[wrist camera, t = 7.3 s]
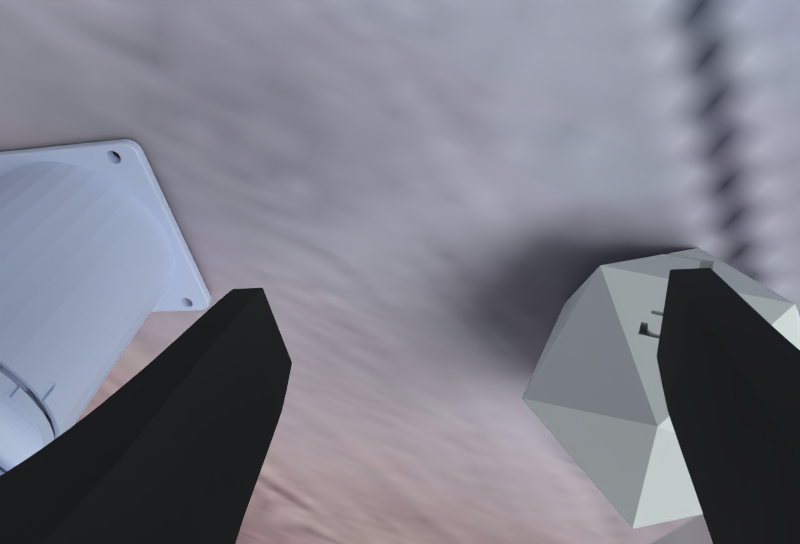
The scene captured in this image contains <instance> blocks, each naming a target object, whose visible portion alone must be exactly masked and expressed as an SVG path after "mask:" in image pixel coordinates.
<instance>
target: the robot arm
mask: <svg viewBox="0 0 800 544" xmlns="http://www.w3.org/2000/svg"><path fill="white" fill-rule="evenodd" d="M112 151H115V152H116V153H118V154H119V156H120V158H121V159H120V158H118V157H116V156H115V155H114V154H113V152H112ZM186 298H187V299H189V300H191V301H189V300H187V299H186ZM210 303H211V296H210V294H209V292H208V290H207V287H206V285H205V283H204V281H203V279H202V277H201V274H200V272H199V270H198V268H197V266H196V264H195V262H194V259H193V257H192V255H191V253H190V251H189V249H188V247H187V244H186V242H185V240H184V238H183V236H182V234H181V231H180V229H179V227H178V225H177V223H176V221H175V219H174V216H173V214H172V212H171V210H170V208H169V206H168V203H167V201H166V199H165V197H164V195H163V193H162V191H161V188H160V186H159V184H158V182H157V180H156V178H155V176H154V173H153V171H152V169H151V167H150V165H149V163H148V160H147V158H146V156H145V154H144V152H143V150H142V148H141V147H140V146H139V145H138V144H137V143H136V142H134V141H132V140H129V139H120V140H111V141H101V142H92V143H82V144H72V145H63V146H53V147H43V148H34V149H24V150H14V151H5V152H0V544H235V543H236V539H237V536H238V533H239V530H240V527H241V524H242V520H243V517H244V515H245V512H246V509H247V506H248V504H249V501H250V498H251V495H252V493H253V490H254V487H255V484H256V482H257V479H258V476H259V473H260V471H261V468H262V465H263V462H264V460H265V457H266V454H267V451H268V449H269V446H270V443H271V440H272V437H273V435H274V432H275V429H276V426H277V423H278V420H279V417H280V414H281V411H282V407H283V403H284V399H285V394H286V390H287V385H288V380H289V375H290V370H291V365H292V362H291V360H290V357H289V354H288V352H287V349H286V347H285V344H284V342H283V339H282V336H281V334H280V331H279V329H278V326H277V324H276V321H275V319H274V316H273V313H272V311H271V308H270V306H269V303H268V301H267V298H266V295H265V293H264V290H263V288H248V289H233V290H231V291H230V292H229V293H228V294H226V295H225V296H224V297H223V298H222V299H220V300H219V301H218V302H217V303H216V304H215V305H214V306H213V307H211V308H210V309H209V310H208V311H207V312H206V313H205V314H204V315H203V316H201V317H200V318H199V319H198V320H197V321H196V322H195V323H194V324H193V325H192V326H191V327H189V328H188V329H187V330H186V331H185V332H184V333H183V334H182V335H181V336H180V337H178V338H177V339H176V340H175V341H174V342H173V343H172V344H171V345H170V346H169V347H167V348H166V349H165V350H164V351H163V352H162V353H161V354H160V355H159V356H157V357H156V358H155V359H154V360H153V361H152V362H151V363H150V364H149V365H147V366H146V367H145V368H144V369H143V370H142V371H140V372H139V373H138V374H137V375H136V376H134V377H133V378H132V379H131V380H130V381H128V382H127V383H126V384H125V385H124V386H122V387H121V388H120V389H119V390H118V391H116V392H115V393H114V394H113V395H112V396H110V397H109V398H108V399H107V400H106V401H105V402H103V403H102V404H101V405H100V406H98V407H97V408H96V409H95V410H93V411H92V412H91V413H90V414H88V415H87V416H86V417H84V418H83V419H82V420H80V421H79V422H78V423H76V421H77V420H78V418H79V417H80V416H81V414H82V413H83V411H84V410H85V408H86V407H87V405H88V404H89V402H90V401H91V399H92V398H93V396H94V395H95V393H96V392H97V391H98V389H99V388H100V386H101V385H102V383H103V382H104V380H105V379H106V377H107V376H108V374H109V373H110V371H111V370H112V368H113V367H114V366H115V364H116V363H117V361H118V360H119V358H120V357H121V355H122V354H123V352H124V351H125V349H126V348H127V346H128V345H129V343H130V342H131V341H132V339H133V338H134V336H135V335H136V333H137V332H138V330H139V329H140V327H141V326H142V324H143V323H144V321H145V320H146V319H147V317H148V316H149V314H150V313H151V312H164V311H190V310H204V309H206V308H208V306H209V305H210ZM657 362H658V367H659V372H660V377H661V382H662V387H663V392H664V396H665V401H666V405H667V410H668V413H669V416H670V419H671V422H672V425H673V428H674V431H675V434H676V437H677V440H678V443H679V446H680V449H681V452H682V455H683V458H684V460H685V463H686V466H687V469H688V472H689V475H690V478H691V481H692V483H693V486H694V489H695V492H696V495H697V498H698V501H699V504H700V507H701V509H702V512H703V515H704V518H705V521H706V524H707V527H708V530H709V532H710V535H711V539H712V542H713V544H800V350H799V349H798V348H797V347H795V346H794V345H793V344H792V343H791V342H790V341H789V340H787V339H786V338H785V337H784V336H783V335H782V334H781V333H780V332H779V331H777V330H776V329H775V328H774V327H773V326H772V325H771V324H770V323H769V322H768V321H766V320H765V319H764V318H763V317H762V316H761V315H760V314H759V313H758V312H757V311H756V310H755V309H754V308H752V307H751V306H750V305H749V304H748V303H747V302H746V301H745V300H744V299H743V298H742V297H741V296H740V295H739V294H738V293H737V292H736V291H735V290H733V289H732V288H731V287H730V286H729V285H728V284H727V283H726V282H725V281H724V280H723V279H722V278H721V277H720V276H719V275H717V274H716V273H715V272H714V271H713V270H712V269H711V268H694V269H671V270H670V273H669V279H668V285H667V292H666V298H665V305H664V311H663V318H662V324H661V331H660V337H659V344H658V350H657ZM75 423H76V424H75ZM74 424H75V425H74Z"/></svg>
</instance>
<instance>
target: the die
mask: <svg viewBox="0 0 800 544" xmlns="http://www.w3.org/2000/svg"><path fill="white" fill-rule="evenodd" d="M694 268H711V269H712V270H713V271H714V272H715V273H716V274H717V275H719V276H720V277H721V278H722V279H723V280H724V281H725V282H726V283H727V284H728V285H729V286H730V287H731V288H732V289H733V290H735V291H736V292H737V293H738V294H739V295H740V296H741V297H742V298H743V299H744V300H745V301H746V302H747V303H748V304H749V305H750V306H751V307H752V308H754V309H755V310H756V311H757V312H758V313H759V314H760V315H761V316H762V317H763V318H764V319H765V320H766V321H768V322H769V323H770V324H771V325H772V326H773V327H774V328H775V329H776V330H777V331H779V332H780V333H781V334H782V335H783V336H784V337H785V338H786V339H787V340H789V341H790V342H791V343H792V344H793V345H794V346H795V347H797V348H798V349H799V350H800V317H799V314H798V311H797V308H796V305H795V304H794V303H792V302H791V301H789V300H787V299H786V298H784V297H782V296H780V295H779V294H777V293H775V292H774V291H772V290H770V289H768V288H767V287H765V286H763V285H762V284H760V283H758V282H756V281H755V280H753V279H751V278H750V277H748V276H746V275H744V274H743V273H741V272H739V271H737V270H736V269H734V268H732V267H731V266H729V265H727V264H725V263H724V262H722V261H720V260H719V259H717V258H715V257H713V256H712V255H710V254H708V253H707V252H705V251H703V250H701V249H700V248H696V249H690V250H684V251H679V252H673V253H669V254H666V255H665V254H662V255H656V256H651V257H645V258H639V259H634V260H628V261H622V262H617V263H611V264H606V265H600V266H599V267H598V268H597V269H596V270H595V272H594V273H593V274H592V275H591V276H590V277H589V278H588V279H587V280H586V281H585V282H584V283H583V284H582V285H581V286H580V287H579V289H578V290H577V291H576V292H575V293H574V294H573V295H572V296H571V297H570V298H569V299H568V300H567V301H566V302H565V304H564V306H563V308H562V310H561V313H560V315H559V317H558V319H557V321H556V324H555V326H554V328H553V330H552V332H551V335H550V337H549V339H548V341H547V343H546V346H545V348H544V350H543V352H542V354H541V357H540V359H539V361H538V363H537V366H536V368H535V370H534V372H533V374H532V377H531V379H530V381H529V383H528V385H527V388H526V390H525V392H524V394H523V396H522V399H523V400H524V401H525V403H526V404H527V405H528V406H529V407H530V408H531V410H532V411H533V412H534V413H535V414H536V415H537V417H538V418H539V419H540V420H541V421H542V423H543V424H544V425H545V426H546V427H547V428H548V430H549V431H550V432H551V433H552V434H553V436H554V437H555V438H556V439H557V440H558V441H559V443H560V444H561V445H562V446H563V447H564V449H565V450H566V451H567V452H568V453H569V454H570V456H571V457H572V458H573V459H574V460H575V461H576V463H577V464H578V465H579V466H580V467H581V469H582V470H583V471H584V472H585V473H586V474H587V476H588V477H589V478H590V479H591V480H592V482H593V483H594V484H595V485H596V486H597V487H598V489H599V490H600V491H601V492H602V493H603V494H604V496H605V497H606V498H607V499H608V500H609V502H610V503H611V504H612V505H613V506H614V507H615V509H616V510H617V511H618V512H619V513H620V515H621V516H622V517H623V518H624V519H625V520H626V522H627V523H628V524H629V525H630V526H631V527H632V529H634V528H639V527H643V526H648V525H653V524H658V523H662V522H667V521H672V520H677V519H681V518H686V517H691V516H696V515H700V514H703V512H702V509H701V507H700V504H699V501H698V498H697V495H696V492H695V489H694V486H693V483H692V481H691V478H690V475H689V472H688V469H687V466H686V463H685V460H684V458H683V455H682V452H681V449H680V446H679V443H678V440H677V437H676V434H675V431H674V428H673V425H672V422H671V419H670V416H669V413H668V410H667V405H666V401H665V396H664V392H663V387H662V382H661V377H660V372H659V367H658V362H657V350H658V344H659V337H660V331H661V324H662V318H663V311H664V305H665V298H666V292H667V285H668V279H669V273H670V270H671V269H694Z"/></svg>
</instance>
